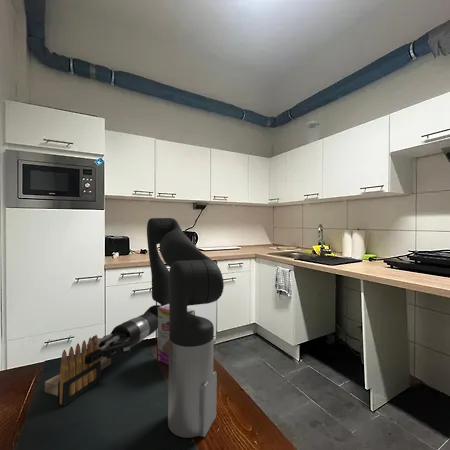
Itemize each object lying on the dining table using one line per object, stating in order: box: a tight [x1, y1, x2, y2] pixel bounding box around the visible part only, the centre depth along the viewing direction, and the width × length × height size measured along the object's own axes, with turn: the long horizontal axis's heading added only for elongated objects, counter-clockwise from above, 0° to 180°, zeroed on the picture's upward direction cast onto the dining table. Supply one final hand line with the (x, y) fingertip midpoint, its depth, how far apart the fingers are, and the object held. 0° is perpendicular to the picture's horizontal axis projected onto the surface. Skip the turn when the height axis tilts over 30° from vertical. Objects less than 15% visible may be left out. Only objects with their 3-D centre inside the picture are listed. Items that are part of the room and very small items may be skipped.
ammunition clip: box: [56, 334, 102, 407], centre depth 62 cm, size 11×2×12 cm, turn 160°
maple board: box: [44, 357, 112, 397], centre depth 69 cm, size 5×16×2 cm, turn 160°
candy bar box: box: [156, 304, 196, 367], centre depth 76 cm, size 11×5×16 cm, turn 58°
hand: (83, 359), depth 63 cm, fingers closed on ammunition clip, 1 cm apart
